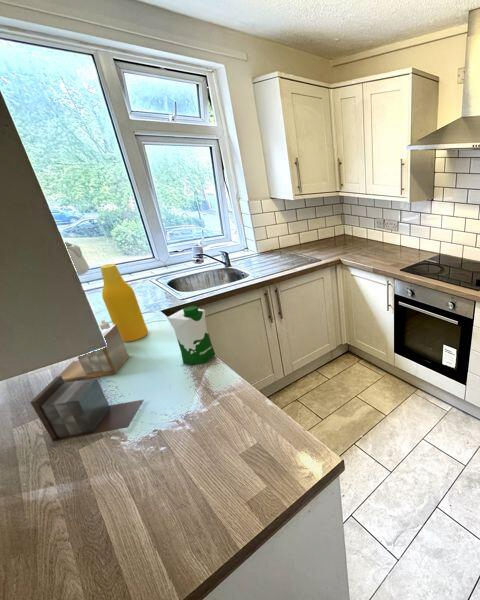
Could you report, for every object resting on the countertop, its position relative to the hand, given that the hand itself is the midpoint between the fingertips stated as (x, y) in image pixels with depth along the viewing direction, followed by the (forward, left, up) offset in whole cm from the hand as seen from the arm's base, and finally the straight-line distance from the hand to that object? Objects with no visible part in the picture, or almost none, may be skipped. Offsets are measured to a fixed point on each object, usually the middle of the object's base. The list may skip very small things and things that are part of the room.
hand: (51, 291), depth 92 cm
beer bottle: (+3, +27, -30) cm, 40 cm away
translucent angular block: (-1, +6, -30) cm, 30 cm away
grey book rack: (+13, -23, -30) cm, 40 cm away
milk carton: (+31, +2, -30) cm, 43 cm away
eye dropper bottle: (0, +18, -30) cm, 35 cm away
